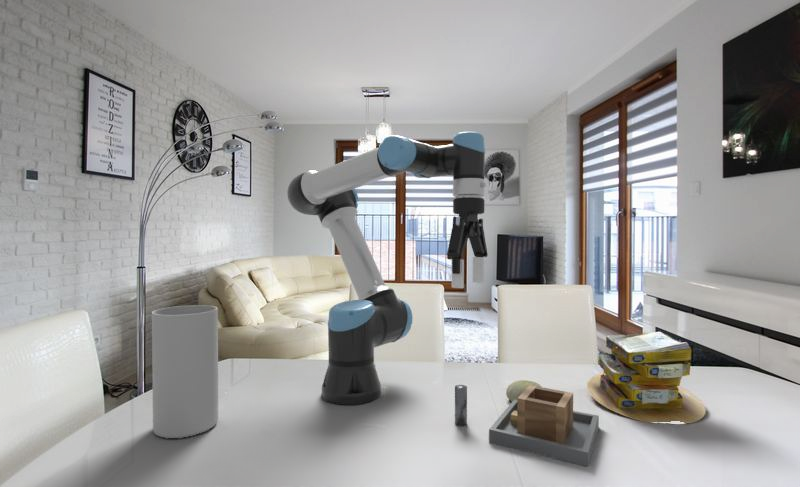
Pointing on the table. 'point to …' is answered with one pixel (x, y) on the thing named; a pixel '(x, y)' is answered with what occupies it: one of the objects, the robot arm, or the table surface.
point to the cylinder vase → (184, 370)
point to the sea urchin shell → (518, 388)
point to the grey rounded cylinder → (461, 405)
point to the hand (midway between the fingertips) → (468, 285)
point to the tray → (571, 451)
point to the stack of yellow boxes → (646, 379)
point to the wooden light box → (544, 413)
